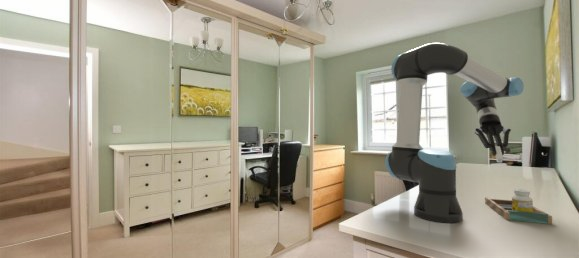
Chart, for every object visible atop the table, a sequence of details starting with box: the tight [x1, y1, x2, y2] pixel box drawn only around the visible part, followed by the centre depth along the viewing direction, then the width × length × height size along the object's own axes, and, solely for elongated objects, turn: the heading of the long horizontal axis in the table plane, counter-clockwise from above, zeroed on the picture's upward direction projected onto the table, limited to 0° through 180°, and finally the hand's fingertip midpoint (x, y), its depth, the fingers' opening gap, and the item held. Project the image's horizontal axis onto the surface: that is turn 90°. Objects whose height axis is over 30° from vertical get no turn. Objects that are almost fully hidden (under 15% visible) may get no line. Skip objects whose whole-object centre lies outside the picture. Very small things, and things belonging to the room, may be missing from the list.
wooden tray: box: [484, 196, 553, 225], centre depth 96 cm, size 22×12×3 cm, turn 158°
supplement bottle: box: [511, 188, 534, 212], centre depth 89 cm, size 5×5×10 cm
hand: (500, 160), depth 104 cm, fingers closed
